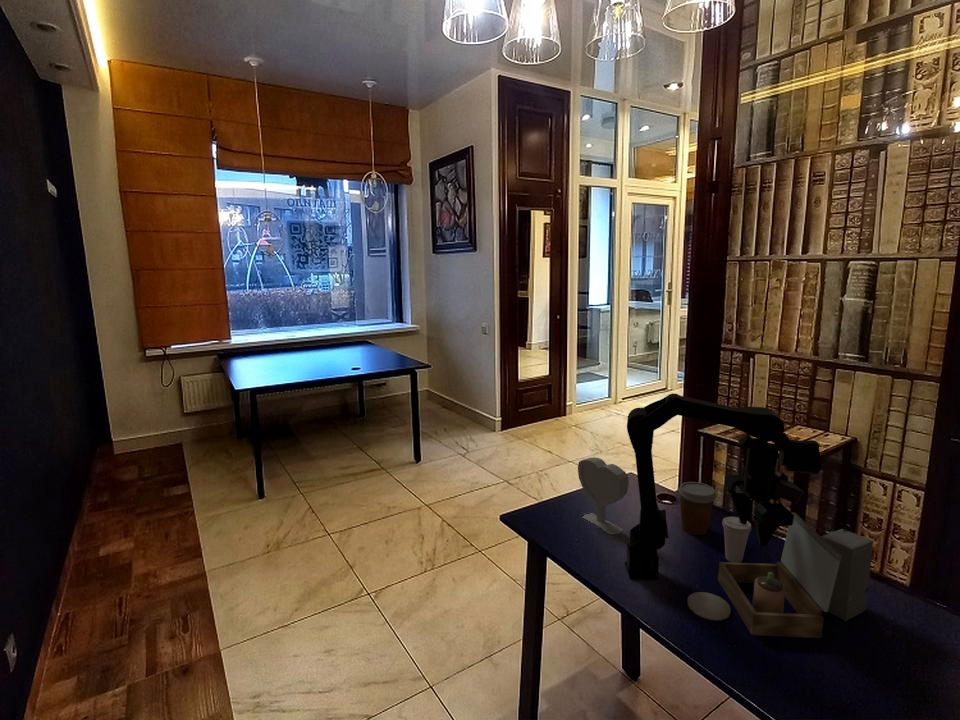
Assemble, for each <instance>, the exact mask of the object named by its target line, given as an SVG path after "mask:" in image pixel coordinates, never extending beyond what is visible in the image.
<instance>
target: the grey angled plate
mask: <svg viewBox="0 0 960 720" xmlns="http://www.w3.org/2000/svg"><path fill="white" fill-rule="evenodd" d="M791 513H792V514H793V515H794V521H793V525H788V527H787V532H786V536H785V541H784V546H783V550H782V554H781V559H780V562H781V563H782V564H783V565H784V566H785V568H786V569H787V570H788V571H789V572H790V573H791V575H792V576H793V577H794V578H795V579H796V580H797V582H798V583H799V584H800V585H801V586H802V587H803V589H804V590H806V591H807V592H808V593H809V595H810V596H811V597H812V598H813V600H814V601H815V602H816V603H817V604H818V605H819V606H820V607H821V610H822V612H825V613H829V612H828V608H829V604H830V600H831V596H832V592H833V588H834V584H835V580H836V576H837V572H838V568H839V564H840V561H841V558H842V556H841V555H840V554H839V553H838V552H837V551H836V550H835V549H834V548H833V547H831V546H830V545H829V544H828V543H827V542H826V541H825V540H824V539H823V538H822V537H821V536H822V535H819V533H817V531H815V529H813V528H812V527H811V526H810V525H809V524H808V523H807V522H806V521H805V520H803V519H802V518H801V516H799V515H798V514H797V512H791Z"/></svg>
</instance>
